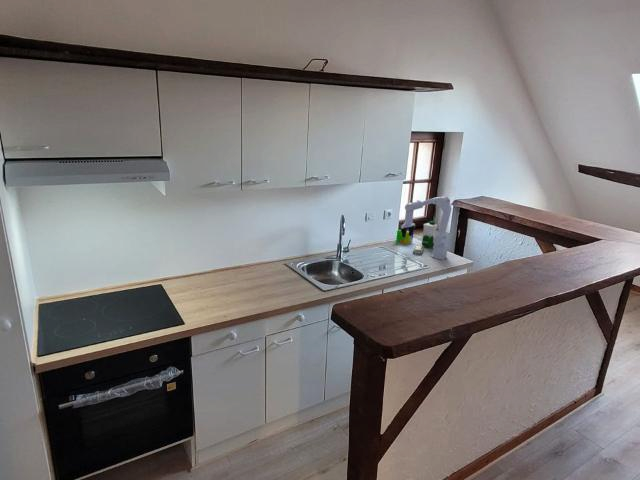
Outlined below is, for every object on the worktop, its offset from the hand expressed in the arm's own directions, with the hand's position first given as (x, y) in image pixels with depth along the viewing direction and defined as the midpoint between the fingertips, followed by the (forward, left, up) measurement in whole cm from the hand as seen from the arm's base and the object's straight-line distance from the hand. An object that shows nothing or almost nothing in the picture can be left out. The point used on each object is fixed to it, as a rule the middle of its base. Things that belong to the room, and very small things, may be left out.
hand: (406, 236), depth 312 cm
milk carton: (-9, -19, -10) cm, 23 cm away
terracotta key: (-8, -7, -8) cm, 13 cm away
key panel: (-10, -2, -10) cm, 14 cm away
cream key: (-10, -2, -8) cm, 13 cm away
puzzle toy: (+9, -16, -10) cm, 21 cm away
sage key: (-12, +3, -8) cm, 14 cm away
